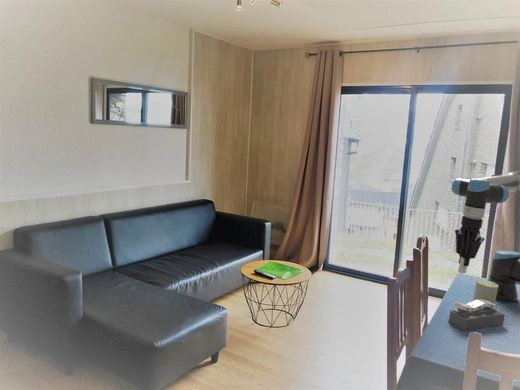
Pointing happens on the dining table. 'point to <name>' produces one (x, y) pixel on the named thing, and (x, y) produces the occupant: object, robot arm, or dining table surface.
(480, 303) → the rocker
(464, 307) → the rocker
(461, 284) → the dining table surface
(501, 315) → the rocker switch panel
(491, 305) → the rocker
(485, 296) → the can
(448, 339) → the dining table surface
